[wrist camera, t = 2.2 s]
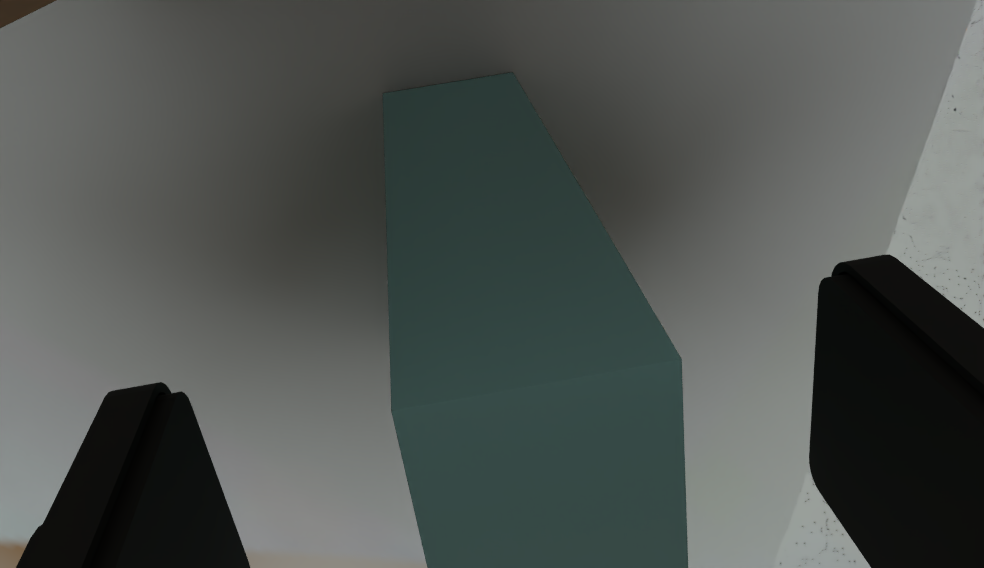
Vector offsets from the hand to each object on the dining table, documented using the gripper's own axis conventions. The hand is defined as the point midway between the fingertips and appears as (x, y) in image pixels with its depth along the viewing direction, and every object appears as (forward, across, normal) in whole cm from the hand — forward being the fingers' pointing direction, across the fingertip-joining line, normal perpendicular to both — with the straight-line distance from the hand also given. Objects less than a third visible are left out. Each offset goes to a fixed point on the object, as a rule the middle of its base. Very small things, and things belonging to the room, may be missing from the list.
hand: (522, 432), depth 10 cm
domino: (+6, 0, 0) cm, 6 cm away
